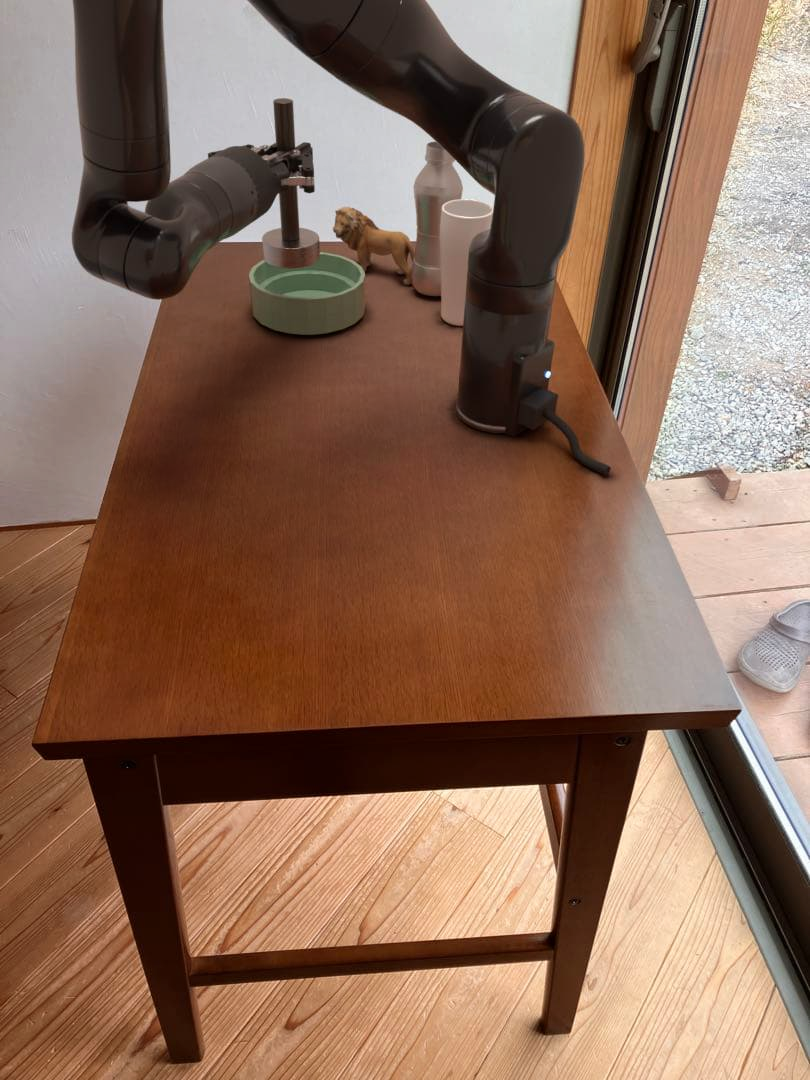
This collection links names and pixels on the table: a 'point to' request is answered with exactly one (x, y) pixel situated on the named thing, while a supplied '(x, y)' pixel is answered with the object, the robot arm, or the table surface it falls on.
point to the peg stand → (289, 207)
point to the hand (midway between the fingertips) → (297, 149)
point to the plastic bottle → (432, 216)
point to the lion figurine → (372, 240)
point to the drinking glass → (458, 251)
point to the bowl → (308, 295)
